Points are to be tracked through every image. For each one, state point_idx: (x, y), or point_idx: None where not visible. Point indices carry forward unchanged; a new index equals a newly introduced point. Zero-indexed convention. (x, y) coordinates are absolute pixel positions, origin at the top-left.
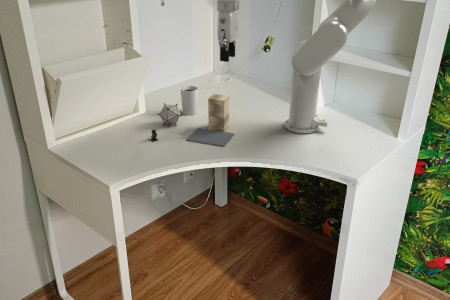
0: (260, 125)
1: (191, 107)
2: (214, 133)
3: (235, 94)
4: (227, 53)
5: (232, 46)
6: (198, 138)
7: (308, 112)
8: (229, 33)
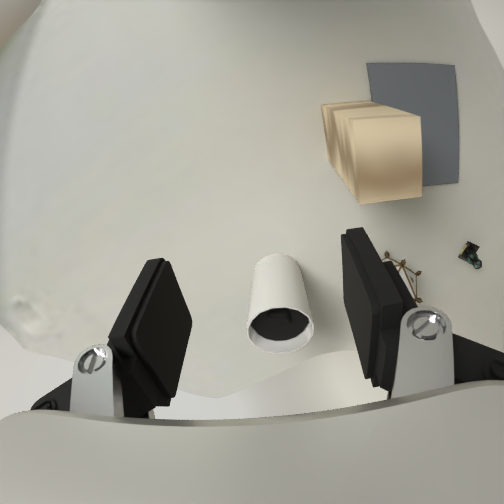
0: (247, 15)
1: (297, 274)
2: None
3: (67, 237)
4: (388, 287)
5: (145, 354)
6: (444, 152)
7: None
8: None
